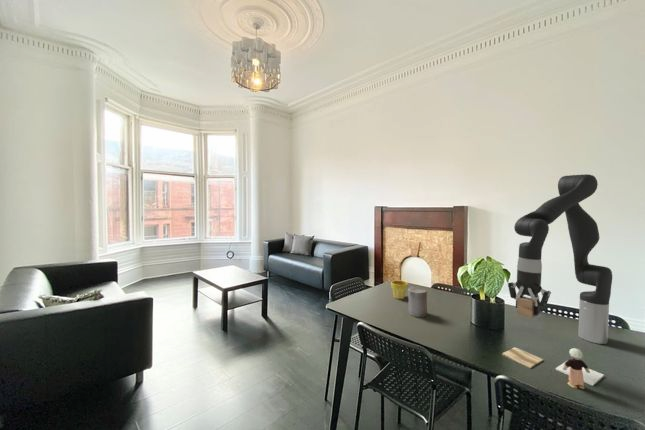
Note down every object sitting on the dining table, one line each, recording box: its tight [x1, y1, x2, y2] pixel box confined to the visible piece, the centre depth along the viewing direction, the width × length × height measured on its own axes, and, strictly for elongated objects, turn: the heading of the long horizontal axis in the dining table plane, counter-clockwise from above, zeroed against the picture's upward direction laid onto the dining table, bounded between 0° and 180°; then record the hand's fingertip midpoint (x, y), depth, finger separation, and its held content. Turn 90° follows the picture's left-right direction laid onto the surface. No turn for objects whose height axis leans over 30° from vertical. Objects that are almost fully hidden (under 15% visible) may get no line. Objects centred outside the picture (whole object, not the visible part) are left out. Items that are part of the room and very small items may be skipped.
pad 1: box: [501, 346, 544, 369], centre depth 107 cm, size 10×10×1 cm
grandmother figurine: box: [563, 347, 590, 390], centre depth 90 cm, size 8×4×13 cm, turn 92°
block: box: [516, 295, 539, 319], centre depth 105 cm, size 5×5×6 cm
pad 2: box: [555, 359, 605, 387], centre depth 97 cm, size 10×10×1 cm
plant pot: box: [390, 279, 409, 300], centre depth 175 cm, size 10×10×10 cm
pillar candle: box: [407, 286, 428, 318], centre depth 149 cm, size 10×10×15 cm
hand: (527, 312), depth 106 cm, fingers closed on block, 5 cm apart
